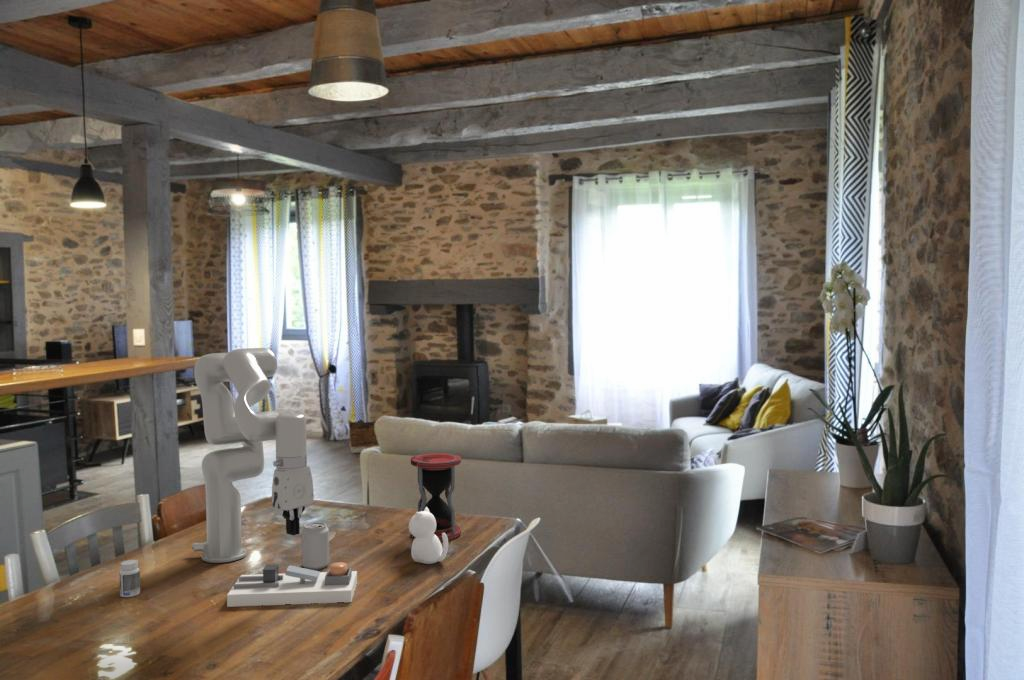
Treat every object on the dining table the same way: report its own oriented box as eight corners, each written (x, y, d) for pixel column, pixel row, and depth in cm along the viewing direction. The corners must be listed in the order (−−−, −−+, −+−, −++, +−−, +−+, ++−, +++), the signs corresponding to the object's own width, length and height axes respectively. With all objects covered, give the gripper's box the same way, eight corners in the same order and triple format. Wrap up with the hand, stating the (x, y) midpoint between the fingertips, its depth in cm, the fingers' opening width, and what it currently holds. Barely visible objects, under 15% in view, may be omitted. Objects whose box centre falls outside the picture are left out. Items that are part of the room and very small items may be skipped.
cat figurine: (417, 554, 229) (416, 504, 228) (455, 558, 224) (454, 507, 223) (402, 564, 220) (401, 512, 220) (442, 568, 216) (441, 515, 215)
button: (328, 577, 195) (328, 568, 195) (330, 571, 200) (330, 562, 200) (346, 577, 196) (346, 567, 196) (348, 571, 200) (348, 562, 200)
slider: (263, 585, 194) (263, 569, 194) (266, 579, 198) (266, 564, 198) (275, 585, 194) (275, 569, 194) (278, 579, 198) (278, 564, 198)
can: (322, 571, 214) (321, 528, 213) (297, 569, 215) (296, 527, 215) (333, 562, 221) (333, 521, 220) (309, 560, 222) (309, 520, 222)
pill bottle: (144, 592, 198) (143, 560, 198) (130, 598, 194) (129, 565, 193) (130, 589, 200) (129, 558, 199) (115, 596, 195) (114, 563, 195)
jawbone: (336, 532, 254) (336, 526, 254) (342, 552, 234) (343, 545, 234) (307, 532, 251) (308, 526, 251) (312, 552, 232) (312, 546, 231)
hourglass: (434, 524, 259) (433, 451, 258) (471, 532, 250) (471, 456, 249) (400, 536, 246) (399, 458, 245) (438, 545, 237) (438, 464, 236)
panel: (227, 606, 188) (226, 586, 188) (241, 586, 202) (241, 566, 202) (351, 602, 191) (351, 581, 191) (357, 582, 205) (356, 562, 205)
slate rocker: (285, 575, 194) (286, 570, 194) (288, 569, 198) (289, 565, 198) (316, 581, 195) (317, 577, 195) (318, 576, 199) (319, 571, 199)
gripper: (276, 469, 187) (278, 543, 188) (324, 459, 199) (325, 529, 200) (257, 465, 191) (259, 538, 192) (305, 456, 203) (306, 525, 204)
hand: (292, 533), depth 196 cm, fingers closed
